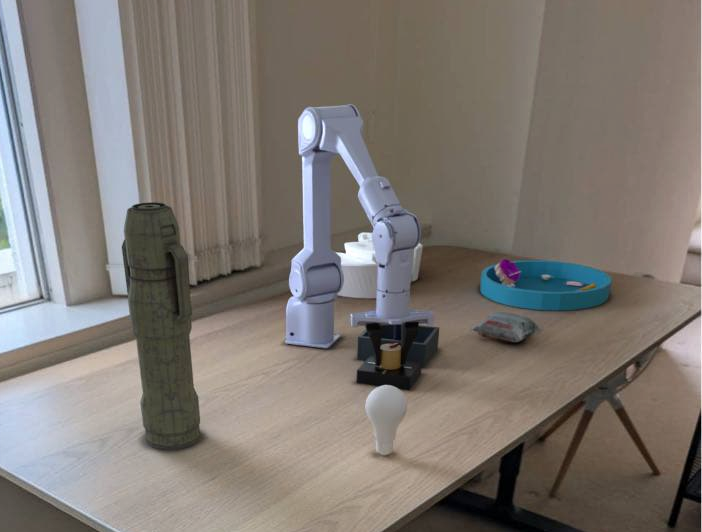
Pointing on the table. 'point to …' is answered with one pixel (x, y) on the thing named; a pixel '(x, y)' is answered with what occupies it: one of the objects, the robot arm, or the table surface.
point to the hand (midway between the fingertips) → (389, 363)
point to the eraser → (397, 332)
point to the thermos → (161, 324)
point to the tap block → (389, 374)
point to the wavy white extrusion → (366, 267)
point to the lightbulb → (385, 415)
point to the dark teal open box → (419, 350)
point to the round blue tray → (545, 285)
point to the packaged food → (506, 327)
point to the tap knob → (390, 356)
